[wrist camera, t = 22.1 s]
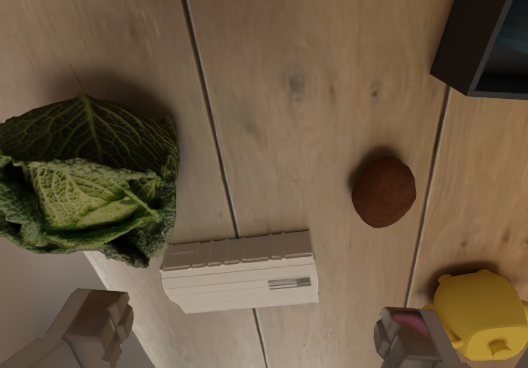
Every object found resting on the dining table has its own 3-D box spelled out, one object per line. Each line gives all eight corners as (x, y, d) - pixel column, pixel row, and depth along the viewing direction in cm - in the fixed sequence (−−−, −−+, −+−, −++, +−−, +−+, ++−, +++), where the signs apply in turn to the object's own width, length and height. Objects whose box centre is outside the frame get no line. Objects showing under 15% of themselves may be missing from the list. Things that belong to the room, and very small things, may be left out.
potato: (414, 146, 43) (438, 175, 37) (399, 208, 49) (417, 242, 43) (352, 148, 43) (365, 176, 37) (344, 209, 49) (355, 243, 43)
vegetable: (154, 164, 54) (167, 278, 44) (11, 154, 44) (-15, 298, 33) (187, 70, 40) (218, 201, 30) (-9, 22, 30) (-64, 196, 20)
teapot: (414, 269, 56) (447, 337, 46) (537, 252, 53) (603, 321, 43) (413, 314, 64) (441, 382, 53) (521, 302, 60) (574, 371, 50)
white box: (191, 297, 62) (183, 330, 57) (166, 244, 55) (154, 275, 49) (317, 285, 59) (322, 319, 54) (310, 227, 52) (315, 259, 46)
